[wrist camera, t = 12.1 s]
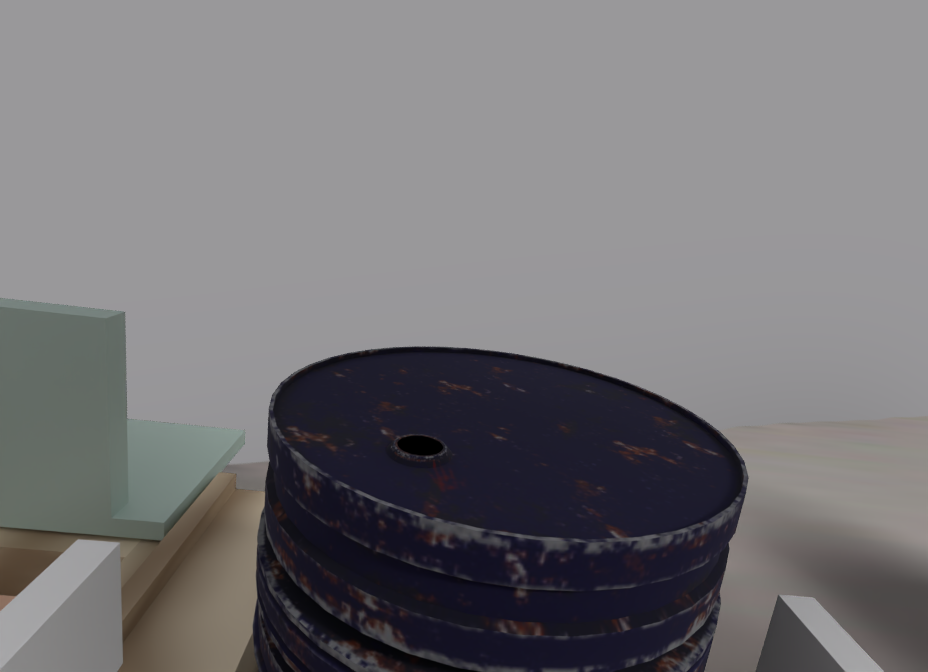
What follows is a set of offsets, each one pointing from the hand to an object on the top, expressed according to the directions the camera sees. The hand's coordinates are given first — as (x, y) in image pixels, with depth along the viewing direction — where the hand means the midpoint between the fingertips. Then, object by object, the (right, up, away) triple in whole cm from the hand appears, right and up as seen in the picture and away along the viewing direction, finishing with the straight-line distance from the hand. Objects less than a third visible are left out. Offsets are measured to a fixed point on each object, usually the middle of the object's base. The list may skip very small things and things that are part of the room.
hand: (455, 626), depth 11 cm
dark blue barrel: (-1, -10, +4) cm, 11 cm away
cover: (-16, -1, +15) cm, 22 cm away
